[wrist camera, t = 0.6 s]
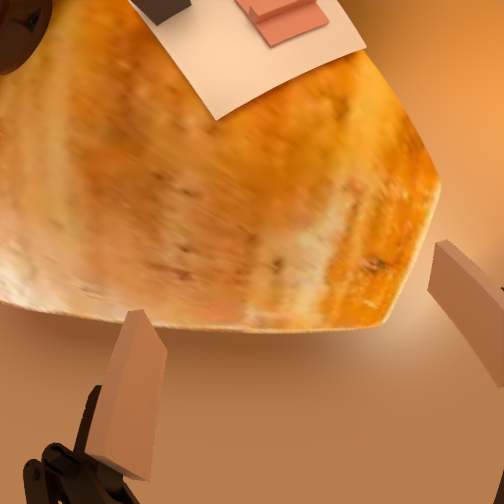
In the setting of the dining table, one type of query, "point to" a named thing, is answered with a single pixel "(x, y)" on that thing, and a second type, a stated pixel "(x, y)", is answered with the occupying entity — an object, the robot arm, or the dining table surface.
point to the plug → (161, 8)
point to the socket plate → (246, 50)
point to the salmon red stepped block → (283, 18)
